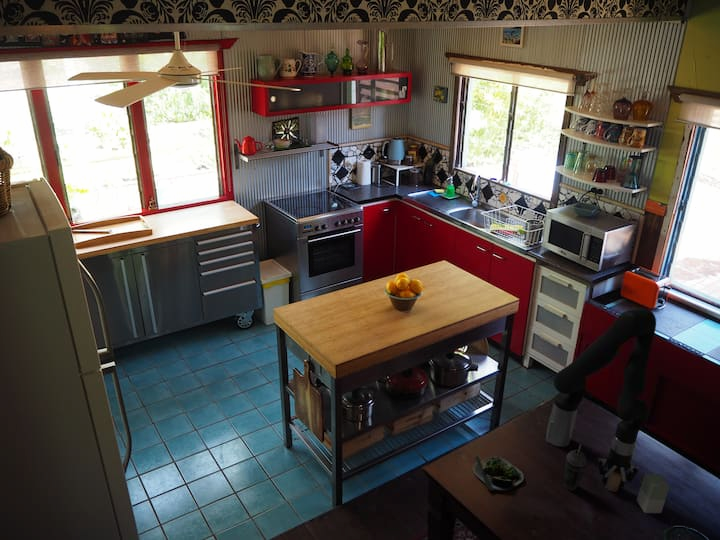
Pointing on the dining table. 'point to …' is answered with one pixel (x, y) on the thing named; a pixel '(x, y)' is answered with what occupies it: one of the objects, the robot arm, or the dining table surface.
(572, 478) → the beverage cup
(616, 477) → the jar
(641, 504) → the base block
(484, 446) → the dining table surface
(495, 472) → the salad plate
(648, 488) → the mid block
